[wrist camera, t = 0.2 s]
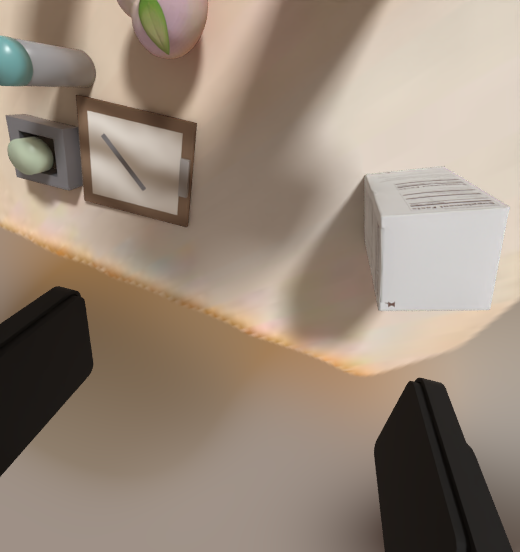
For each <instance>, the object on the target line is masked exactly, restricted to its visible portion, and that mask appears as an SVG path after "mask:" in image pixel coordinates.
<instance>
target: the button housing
mask: <svg viewBox="0 0 520 552" xmlns="http://www.w3.org/2000/svg"><path fill="white" fill-rule="evenodd" d="M6 120H7V125H8V131H9V136H10V142H11V141H12V140H14V139H20V138H27V137H37V135H39V136H43V137H47V138H51V139H53V141H54V149H55V158H56V166H57V169H56V168H51V169H50V170H48V171H45V172H41V173H37V174H33V175H26V174H23V173H22V172H20V171H19V170H17V169H16V168H15V169H16V175H17V177H19V178H23V179H27V180H31V181H35V182H38V183H42V184H46V185H50V186H54V187H57V188H61V189H65V190H72V189H75V188H77V187H80V186H83V179H82V167H81V155H80V142H79V130H78V127H75V126H71V125H66V124H62V123H58V122H54V121H50V120H46V119H42V118H38V117H34V116H30V115H26V114H19V115H6Z"/></svg>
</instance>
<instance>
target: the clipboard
mask: <svg viewBox="0 0 520 552" xmlns="http://www.w3.org/2000/svg"><path fill="white" fill-rule="evenodd" d="M76 101H77V114H78V126H79V138H80V150H81V163H82V175H83V187H84V199H85V201H89V202H93V203H96V204H100V205H104V206H108V207H112V208H115V209H119V210H123V211H127V212H130V213H134V214H138V215H142V216H146V217H149V218H153V219H157V220H161V221H165V222H168V223H172V224H176V225H180V226H184V227H187V226H188V220H189V208H190V197H191V185H192V173H193V162H194V150H195V139H196V127H197V123H194V122H190V121H186V120H181V119H177V118H173V117H169V116H165V115H160V114H156V113H152V112H148V111H144V110H139V109H135V108H131V107H127V106H123V105H119V104H114V103H110V102H106V101H102V100H98V99H93V98H89V97H85V96H81V95H76Z"/></svg>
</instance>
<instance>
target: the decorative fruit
mask: <svg viewBox="0 0 520 552" xmlns="http://www.w3.org/2000/svg"><path fill="white" fill-rule="evenodd" d="M117 2H118V3H119V5H120V7H121V8H122V9H123V11H124V12H125V13H126V14H127V15H128V16H130V17H131V18H132V24H133V28H134V31H135V33H136V35H137V37H138V39H139V41H140V42H141V44H142V45H143V46H144V47H145V48H146V49H147V50H148V51H149V52H150V53H152V54H153V55H155V56H157V57H161V58H166V59H173V58H179V57H181V56H183V55H185V54H187V53H188V52H189V51H190V50H191V49H192V48H193V47H194V46H195V45H196V43H197V42H198V40H199V38H200V36H201V34H202V32H203V30H204V27H205V24H206V19H207V13H208V0H117Z"/></svg>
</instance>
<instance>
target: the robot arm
mask: <svg viewBox="0 0 520 552" xmlns="http://www.w3.org/2000/svg"><path fill="white" fill-rule="evenodd" d="M92 368H93V358H92V350H91V343H90V336H89V329H88V321H87V315H86V307H85V301H84V299H83V298H82V297H81V295H80V293H79V292H78V291H75V290H71V289H67V288H64V287H60V286H58V287H54V288H52V289H51V290H49V291H48V292H46V293H45V294H43V295H42V296H40V297H39V298H37V299H36V300H35V301H33V302H32V303H30V304H29V305H27V306H26V307H24V308H23V309H21V310H20V311H18V312H17V313H16V314H14V315H13V316H11V317H10V318H8V319H7V320H5V321H4V322H2V323H1V324H0V476H1V475H2V474H3V473H4V472H5V471H6V470H7V468H8V467H9V466H10V465H11V464H12V463H13V462H14V460H15V459H16V458H17V457H18V456H19V455H20V454H21V452H22V451H23V450H24V449H25V448H26V447H27V445H28V444H29V443H30V442H31V441H32V440H33V439H34V437H35V436H36V435H37V434H38V433H39V432H40V431H41V430H42V428H43V427H44V426H45V425H46V424H47V423H48V422H49V420H50V419H51V418H52V417H53V416H54V415H55V414H56V412H57V411H58V410H59V409H60V408H61V407H62V406H63V404H64V403H65V402H66V401H67V400H68V399H69V398H70V396H71V395H72V394H73V393H74V392H75V391H76V390H77V389H78V387H79V386H80V385H81V384H82V383H83V382H84V381H85V379H86V378H87V377H88V376H89V375H90V373H91V371H92ZM374 457H375V466H376V475H377V484H378V493H379V502H380V512H381V521H382V530H383V538H384V547H385V552H513V551H512V548H511V546H510V543H509V540H508V538H507V535H506V533H505V530H504V528H503V525H502V523H501V520H500V517H499V515H498V512H497V510H496V507H495V505H494V502H493V500H492V497H491V494H490V492H489V490H488V487H487V484H486V482H485V479H484V477H483V474H482V472H481V469H480V467H479V464H478V461H477V459H476V456H475V454H474V452H473V450H472V448H471V447H470V446H469V445H468V444H467V443H466V441H465V438H464V436H463V433H462V430H461V428H460V425H459V423H458V420H457V417H456V414H455V412H454V409H453V407H452V404H451V401H450V399H449V396H448V393H447V391H446V388H445V386H444V385H443V384H442V383H439V382H435V381H431V380H427V379H424V378H417V379H416V380H415V382H413V381H409V382H408V384H407V385H406V387H405V389H404V391H403V393H402V395H401V396H400V398H399V400H398V402H397V404H396V406H395V407H394V409H393V411H392V413H391V415H390V417H389V418H388V420H387V422H386V424H385V426H384V428H383V430H382V431H381V433H380V435H379V437H378V439H377V441H376V444H375V448H374Z"/></svg>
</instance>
